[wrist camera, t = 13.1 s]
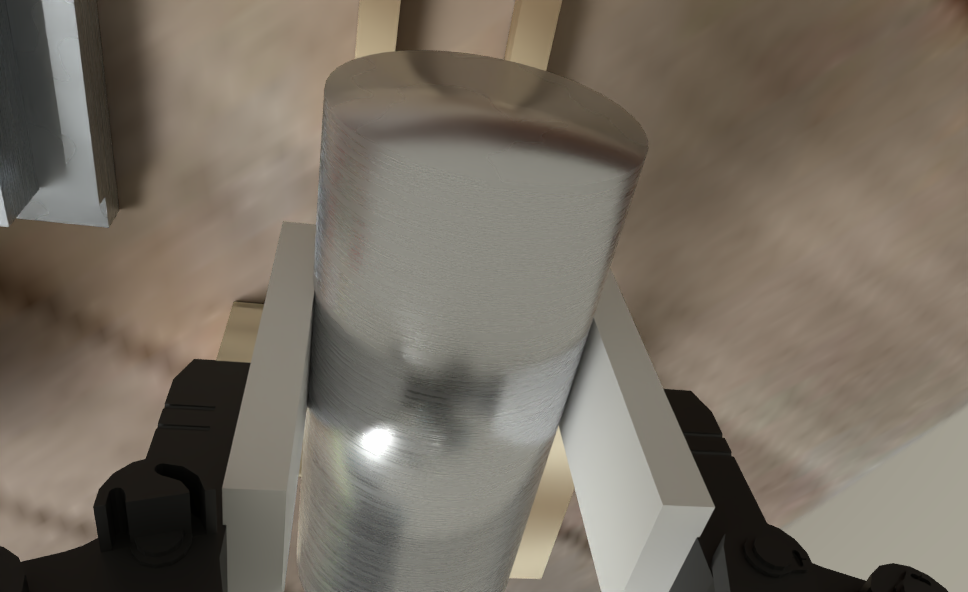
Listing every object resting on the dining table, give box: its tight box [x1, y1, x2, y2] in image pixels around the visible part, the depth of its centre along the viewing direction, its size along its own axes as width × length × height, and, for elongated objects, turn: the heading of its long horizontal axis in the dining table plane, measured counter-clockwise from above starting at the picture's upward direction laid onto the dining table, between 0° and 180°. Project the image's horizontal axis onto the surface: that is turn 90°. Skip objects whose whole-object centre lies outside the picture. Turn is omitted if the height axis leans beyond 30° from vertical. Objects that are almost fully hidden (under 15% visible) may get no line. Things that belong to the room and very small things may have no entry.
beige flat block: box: [216, 0, 575, 579], centre depth 22 cm, size 22×12×4 cm, turn 170°
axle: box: [297, 50, 648, 592], centre depth 15 cm, size 11×5×5 cm, turn 170°
